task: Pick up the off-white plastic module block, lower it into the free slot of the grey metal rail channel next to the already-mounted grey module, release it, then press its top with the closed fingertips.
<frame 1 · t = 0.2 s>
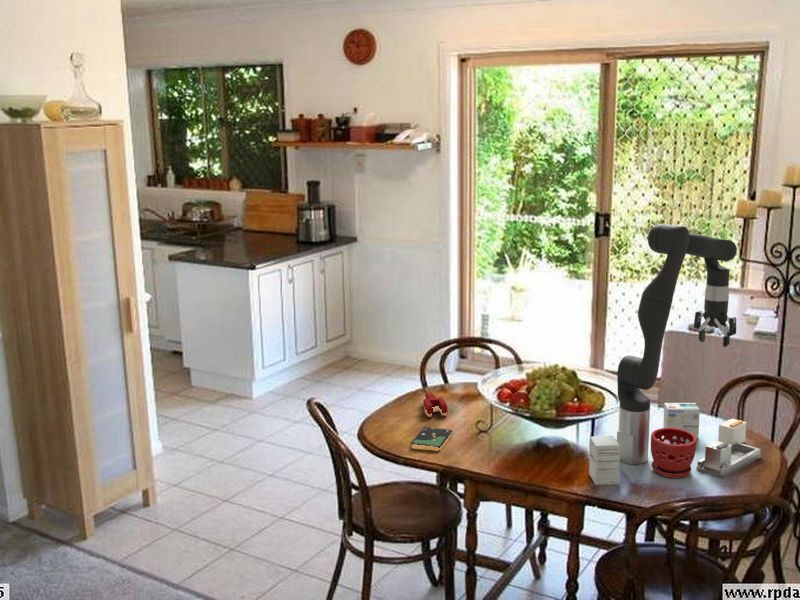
hand: (713, 344, 286), 29 cm above the table, fingers open, 8 cm apart
toy lobster: (433, 411, 312), on the table
module: (731, 443, 275), on the table
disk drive: (432, 443, 283), on the table
plant pot: (671, 472, 255), on the table
din rail: (729, 463, 260), on the table
light bulb box: (680, 436, 282), on the table
supplement box: (603, 480, 251), on the table
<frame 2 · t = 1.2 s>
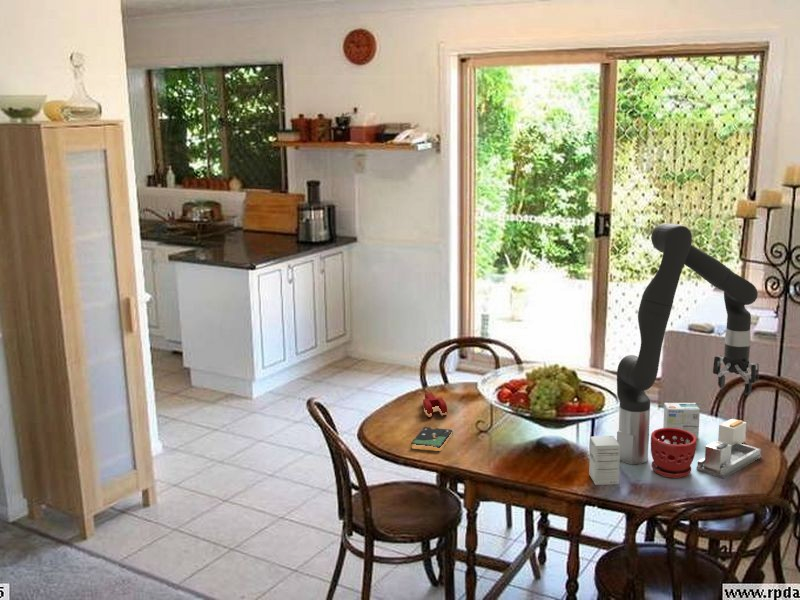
hand: (734, 390, 271), 18 cm above the table, fingers open, 8 cm apart
nothing on the table moved.
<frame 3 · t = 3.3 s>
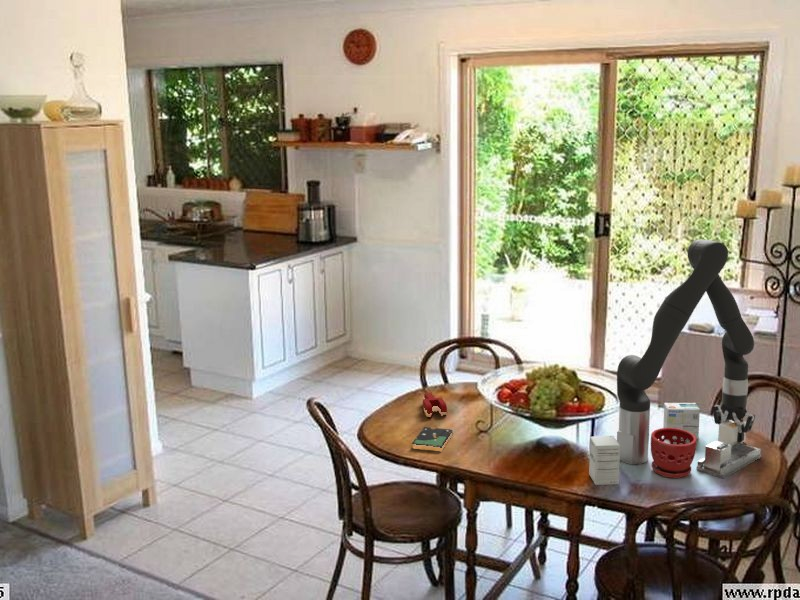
hand: (731, 439, 274), 1 cm above the table, fingers closed on module, 5 cm apart
module: (731, 443, 275), on the table, touching gripper
everything else where it was.
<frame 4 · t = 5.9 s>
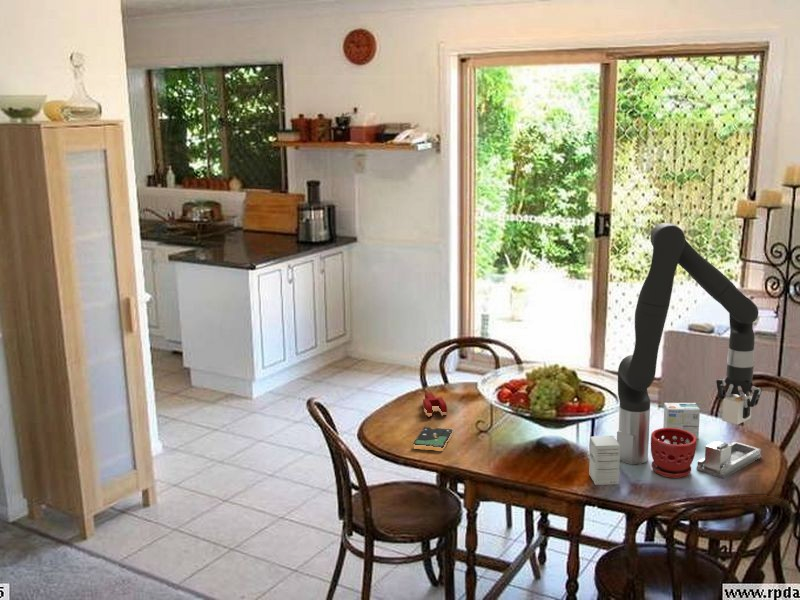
hand: (736, 415, 258), 15 cm above the table, fingers closed on module, 5 cm apart
module: (736, 419, 258), point 14 cm above the table, touching gripper
everything else where it was.
when the fingers open (4 cm above the table, at t = 8.4 s): module drops 1 cm, resting on din rail.
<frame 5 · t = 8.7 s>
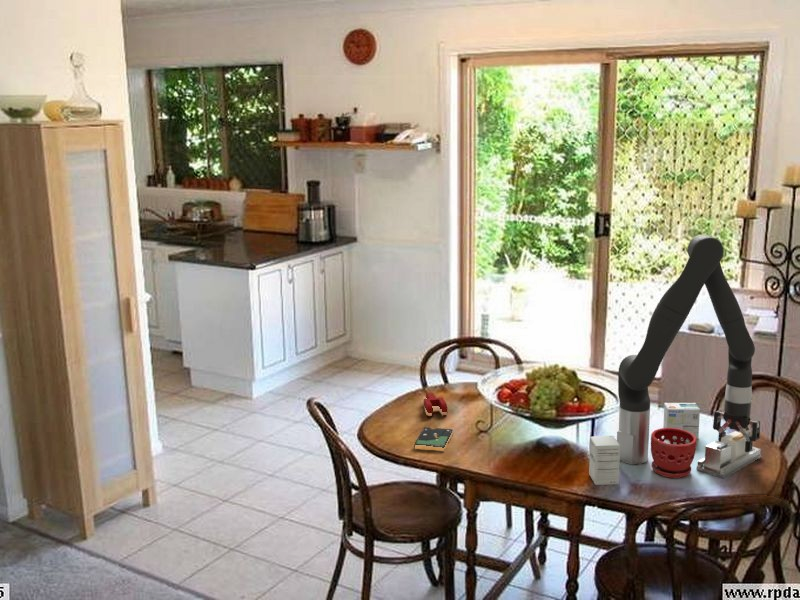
hand: (734, 447, 260), 4 cm above the table, fingers open, 8 cm apart
module: (734, 457, 261), point 1 cm above the table, touching din rail
everything else where it was.
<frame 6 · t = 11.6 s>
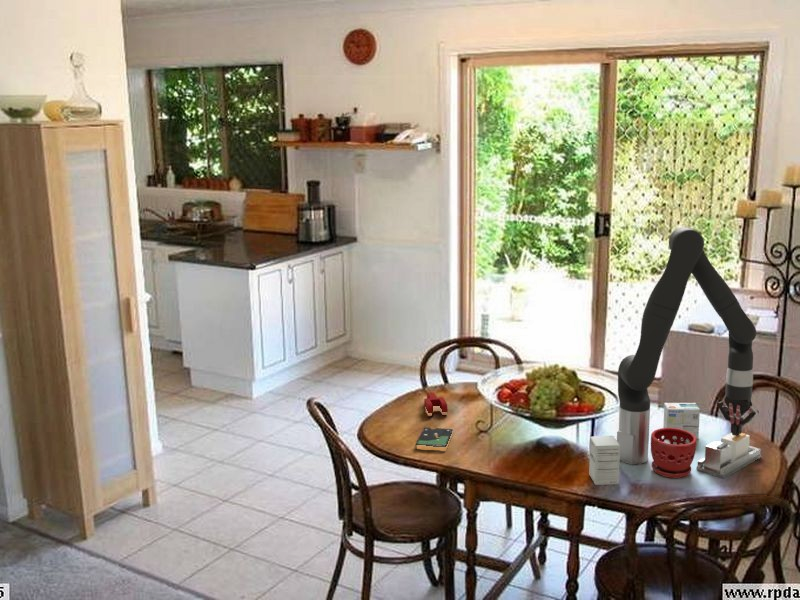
hand: (736, 434, 260), 9 cm above the table, fingers closed
module: (734, 457, 261), point 1 cm above the table, touching din rail, gripper
everything else where it was.
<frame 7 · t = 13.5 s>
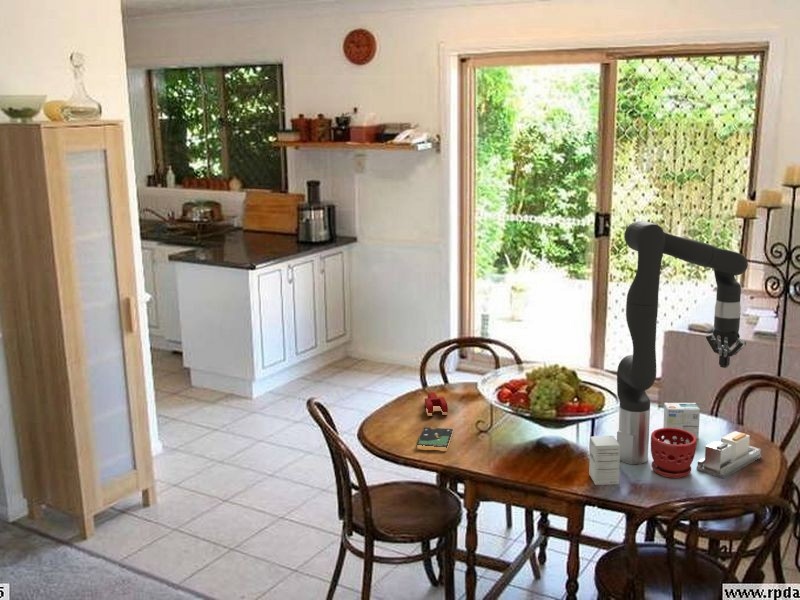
hand: (724, 367, 266), 27 cm above the table, fingers closed
module: (734, 457, 261), point 1 cm above the table, touching din rail
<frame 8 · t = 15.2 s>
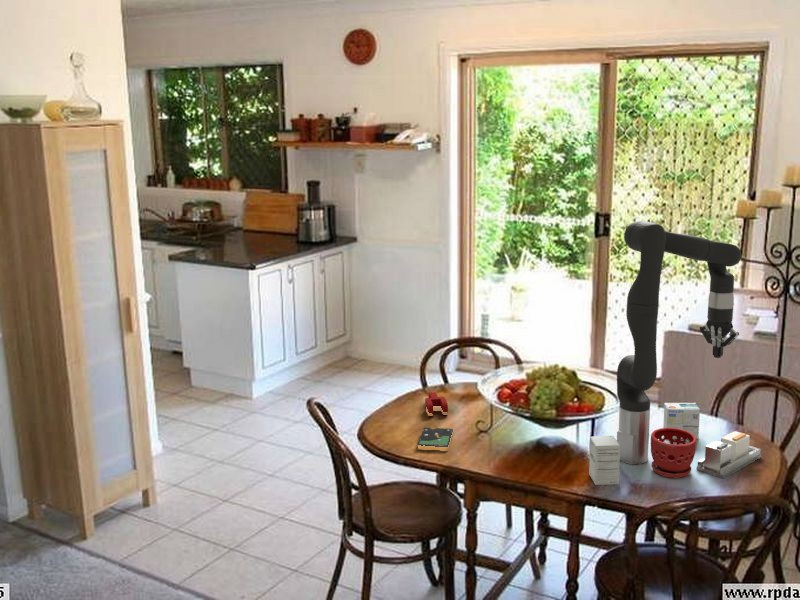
hand: (717, 357, 270), 29 cm above the table, fingers closed
at the end: module 0.5 cm from the target spot on the din rail, point 1.0 cm above the din rail's base; module tilted 0°; the gripper is holding nothing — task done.
